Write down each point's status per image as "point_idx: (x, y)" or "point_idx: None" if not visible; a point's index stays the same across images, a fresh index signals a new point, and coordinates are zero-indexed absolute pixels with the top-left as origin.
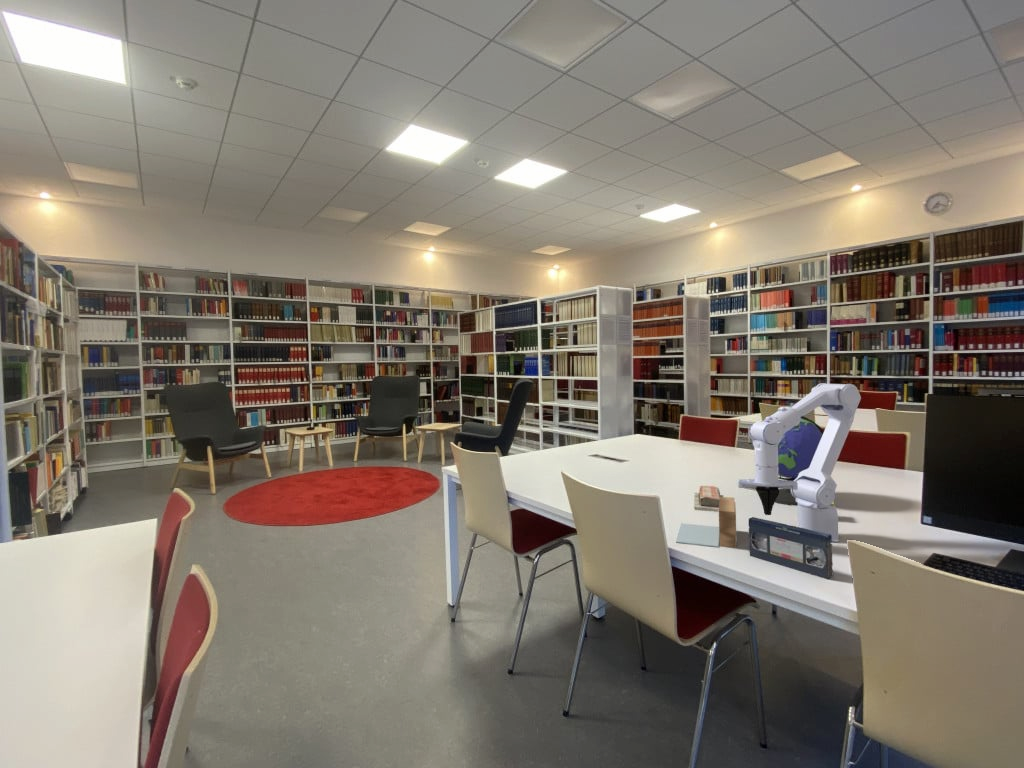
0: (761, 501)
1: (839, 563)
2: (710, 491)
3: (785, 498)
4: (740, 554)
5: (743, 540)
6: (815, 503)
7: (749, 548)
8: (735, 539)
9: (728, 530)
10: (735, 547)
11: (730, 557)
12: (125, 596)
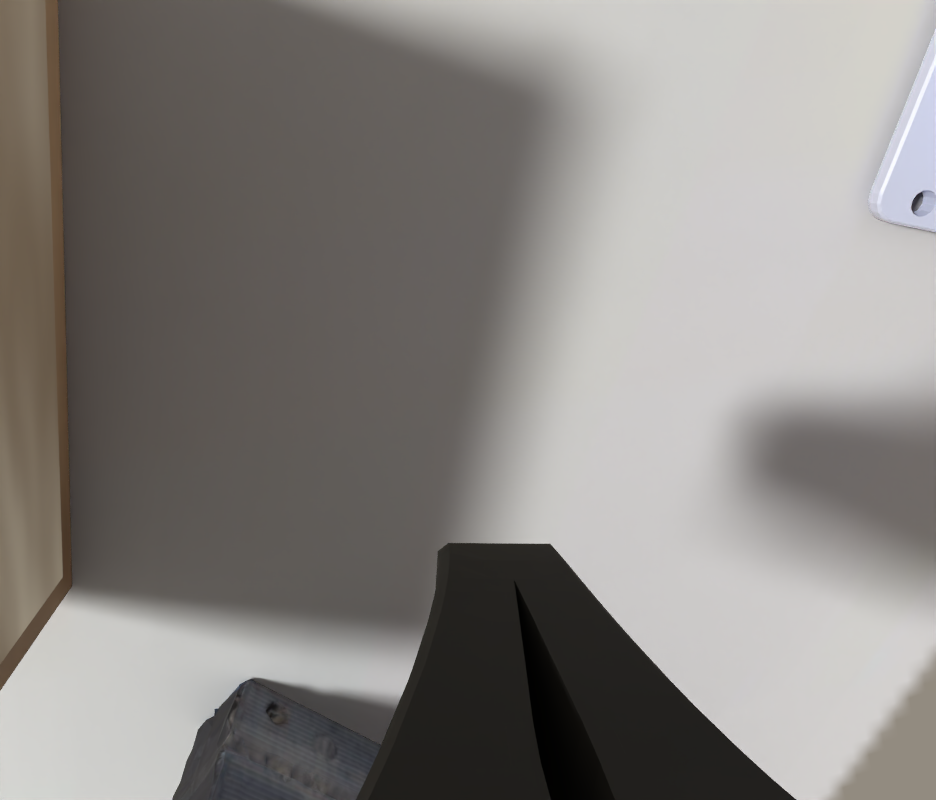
0: (388, 759)
1: (864, 735)
2: None
3: None
4: (117, 714)
5: (166, 353)
6: None
7: (178, 789)
8: (22, 656)
9: None
10: (65, 589)
11: (27, 782)
12: None
